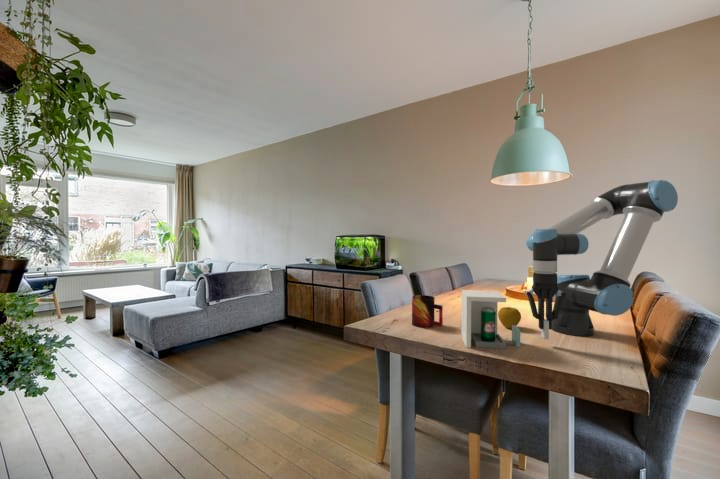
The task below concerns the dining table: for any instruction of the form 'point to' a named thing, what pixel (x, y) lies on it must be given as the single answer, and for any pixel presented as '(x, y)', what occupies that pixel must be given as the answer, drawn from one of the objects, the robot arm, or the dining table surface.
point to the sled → (498, 340)
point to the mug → (425, 312)
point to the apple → (509, 316)
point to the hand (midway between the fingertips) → (545, 338)
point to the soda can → (488, 324)
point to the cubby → (476, 310)
